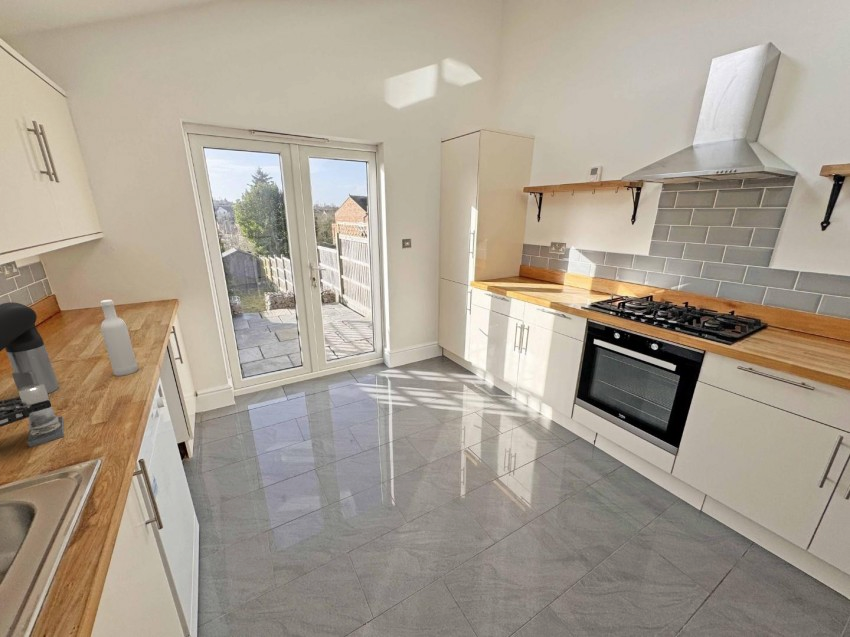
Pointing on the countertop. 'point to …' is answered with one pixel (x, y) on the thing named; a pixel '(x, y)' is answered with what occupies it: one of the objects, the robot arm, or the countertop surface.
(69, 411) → the countertop surface
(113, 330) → the bottle
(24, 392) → the flanged metal cylinder
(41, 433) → the base plate
